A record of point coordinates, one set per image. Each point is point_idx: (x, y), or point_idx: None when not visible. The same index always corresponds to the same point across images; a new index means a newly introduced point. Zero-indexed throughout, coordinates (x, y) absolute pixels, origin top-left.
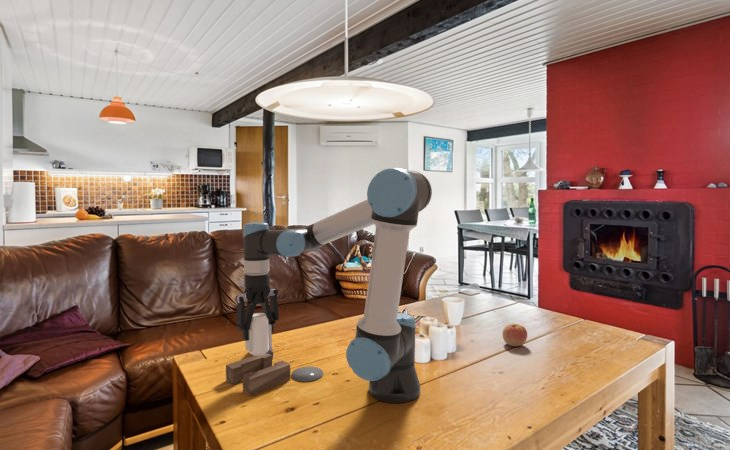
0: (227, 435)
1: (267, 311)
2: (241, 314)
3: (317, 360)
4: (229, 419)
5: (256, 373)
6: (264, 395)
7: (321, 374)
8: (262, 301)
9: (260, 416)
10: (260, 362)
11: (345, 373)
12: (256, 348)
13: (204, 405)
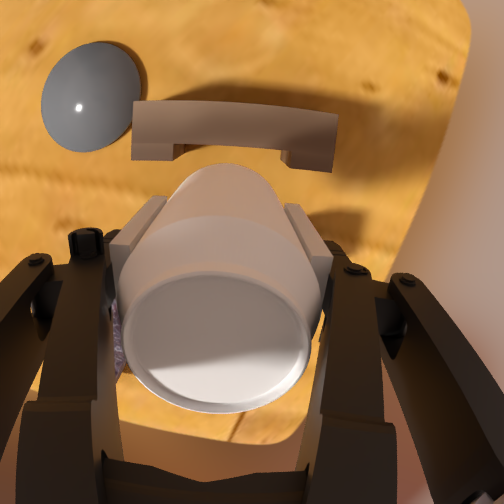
0: (459, 29)
1: (95, 329)
2: (475, 358)
3: (10, 169)
4: (428, 69)
5: (289, 135)
6: (288, 81)
7: (66, 56)
8: (133, 486)
9: (372, 8)
10: None
11: (21, 31)
12: (271, 189)
13: (425, 184)
